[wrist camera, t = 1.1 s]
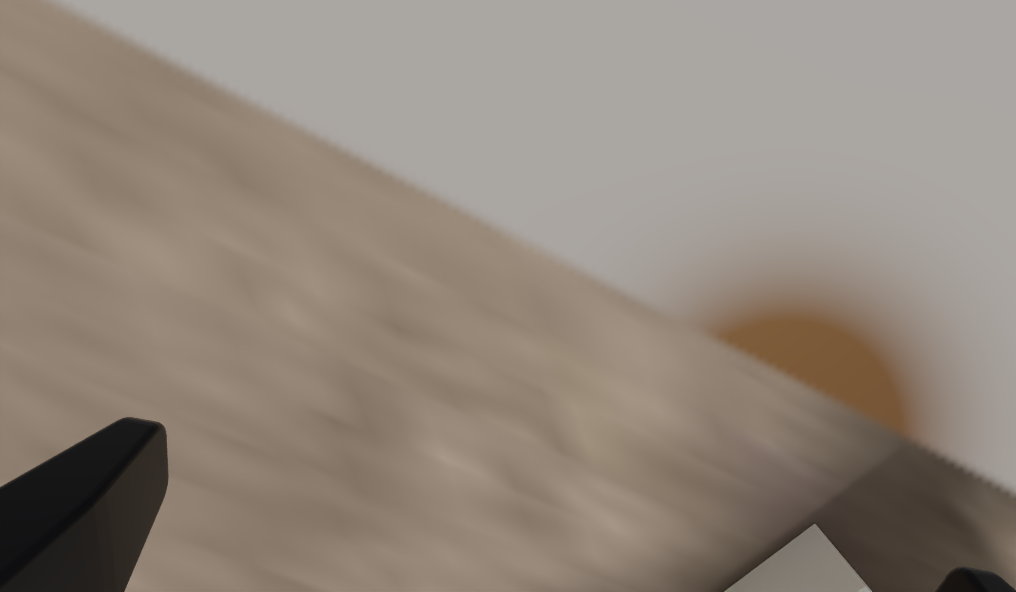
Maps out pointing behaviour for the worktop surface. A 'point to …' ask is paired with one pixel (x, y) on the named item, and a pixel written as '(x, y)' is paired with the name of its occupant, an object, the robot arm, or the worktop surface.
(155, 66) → the worktop surface
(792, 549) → the white rectangular frame
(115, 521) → the robot arm
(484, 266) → the worktop surface
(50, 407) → the worktop surface
